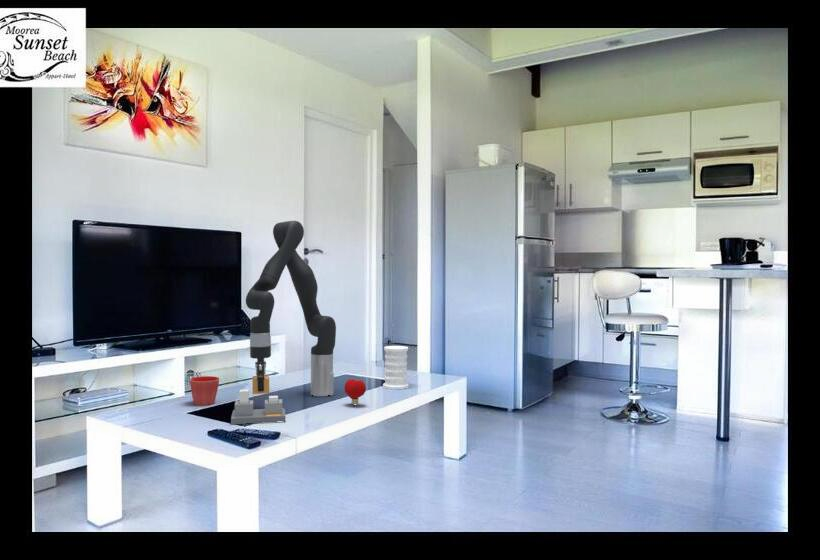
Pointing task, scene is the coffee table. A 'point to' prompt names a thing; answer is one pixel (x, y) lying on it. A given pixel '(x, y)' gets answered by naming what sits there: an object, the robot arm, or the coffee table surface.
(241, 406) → the breaker panel
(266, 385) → the orange wooden cube
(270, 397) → the block
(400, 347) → the decorative container
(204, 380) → the flower pot
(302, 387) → the coffee table surface
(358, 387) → the light bulb
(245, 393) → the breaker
